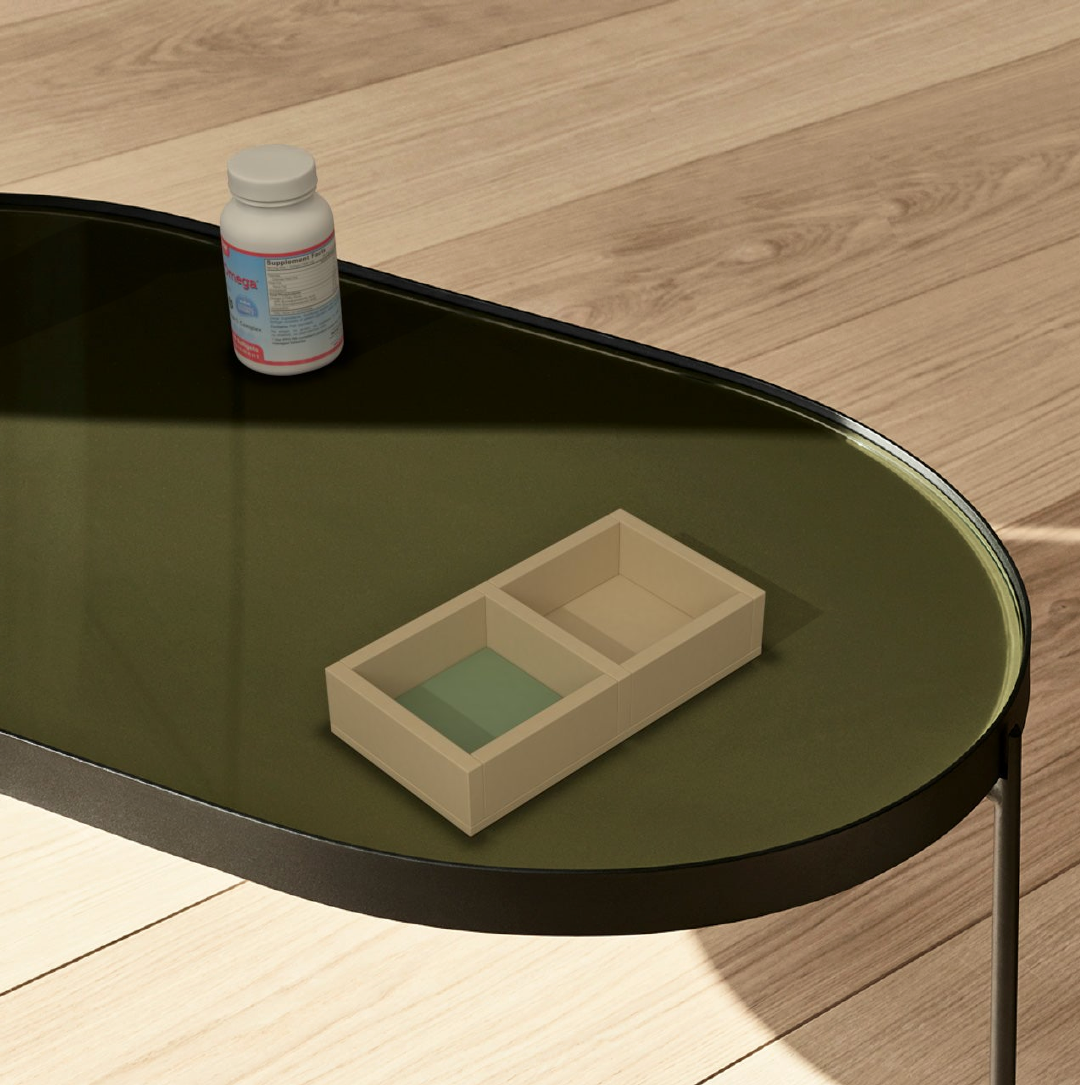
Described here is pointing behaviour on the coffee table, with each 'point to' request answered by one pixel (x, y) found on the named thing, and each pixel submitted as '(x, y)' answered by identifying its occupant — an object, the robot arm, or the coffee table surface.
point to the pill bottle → (280, 262)
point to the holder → (543, 667)
